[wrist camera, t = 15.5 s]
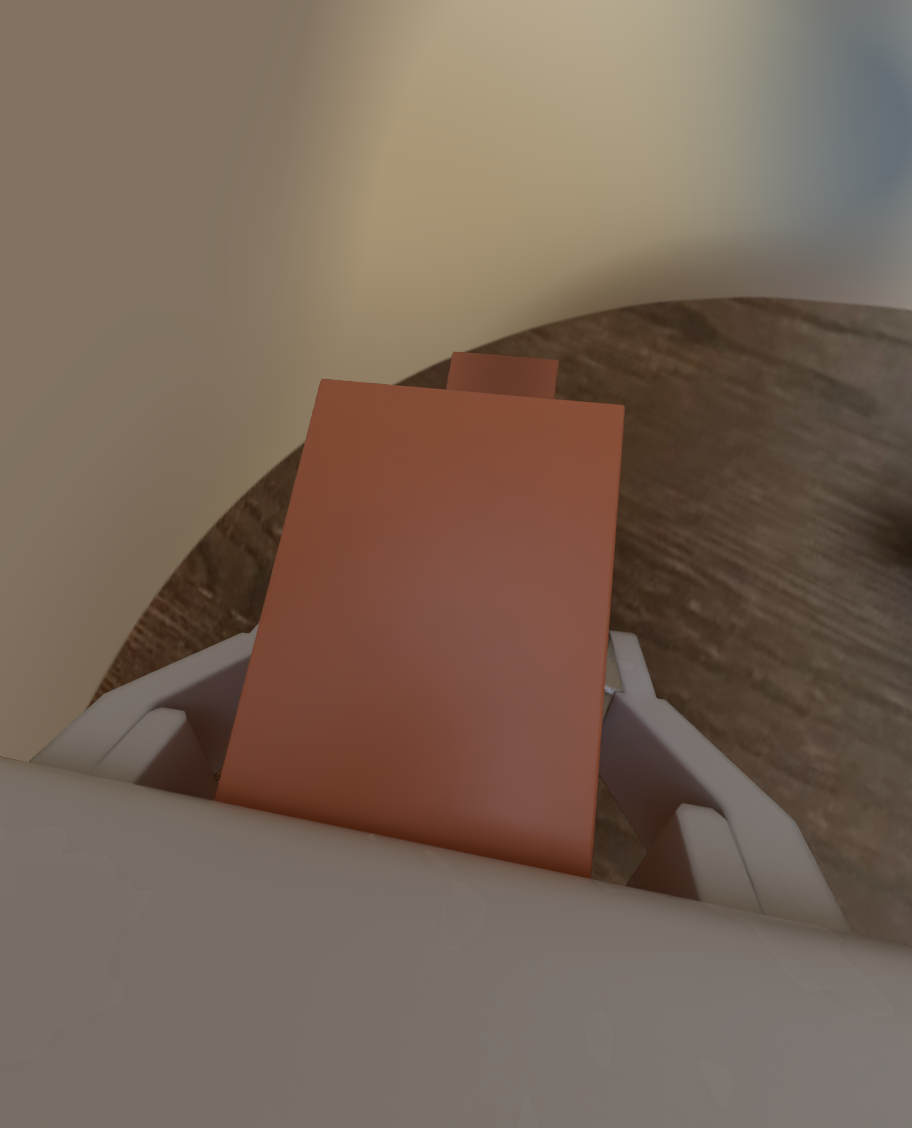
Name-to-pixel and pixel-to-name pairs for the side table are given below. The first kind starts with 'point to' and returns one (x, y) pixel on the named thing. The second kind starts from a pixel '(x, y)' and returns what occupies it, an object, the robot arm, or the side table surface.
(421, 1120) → the robot arm
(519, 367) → the pad base
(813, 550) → the side table surface
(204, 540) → the side table surface
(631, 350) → the side table surface
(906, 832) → the side table surface
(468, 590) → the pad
